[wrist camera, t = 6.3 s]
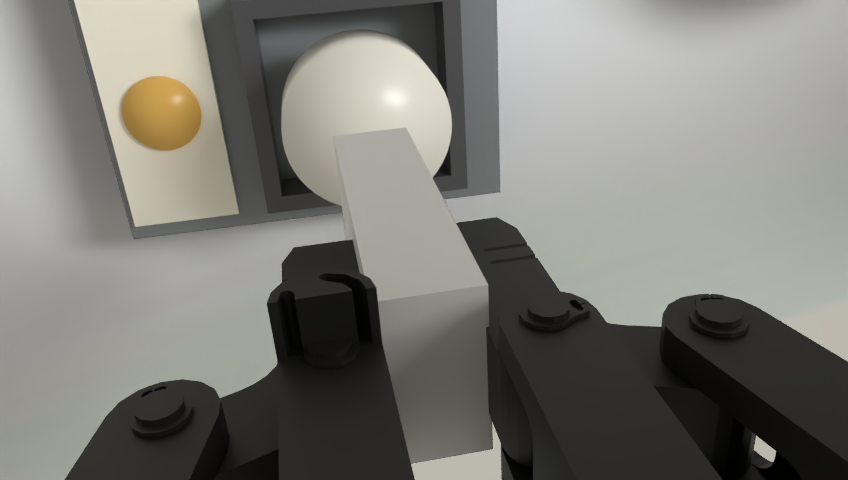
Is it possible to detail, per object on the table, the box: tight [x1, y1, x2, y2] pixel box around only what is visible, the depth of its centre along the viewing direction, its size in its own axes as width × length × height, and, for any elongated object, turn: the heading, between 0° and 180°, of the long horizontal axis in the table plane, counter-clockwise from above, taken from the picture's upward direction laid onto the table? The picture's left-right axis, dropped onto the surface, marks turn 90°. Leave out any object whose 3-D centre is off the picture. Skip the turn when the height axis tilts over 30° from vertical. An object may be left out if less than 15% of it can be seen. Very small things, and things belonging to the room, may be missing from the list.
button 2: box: [281, 29, 452, 206], centre depth 20 cm, size 4×4×2 cm
